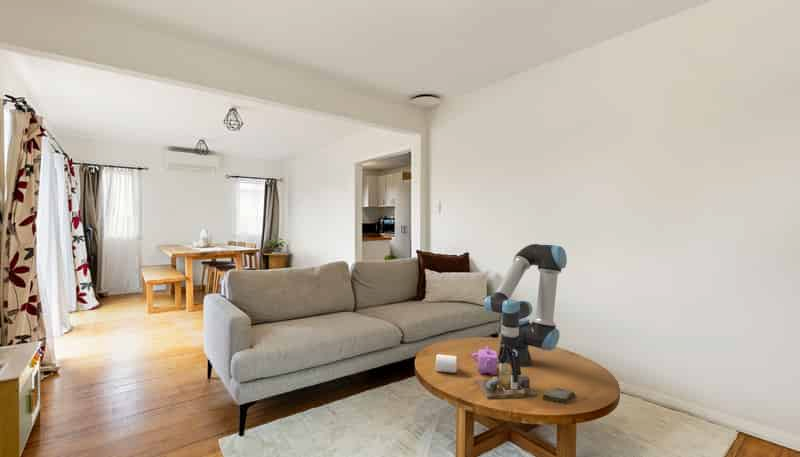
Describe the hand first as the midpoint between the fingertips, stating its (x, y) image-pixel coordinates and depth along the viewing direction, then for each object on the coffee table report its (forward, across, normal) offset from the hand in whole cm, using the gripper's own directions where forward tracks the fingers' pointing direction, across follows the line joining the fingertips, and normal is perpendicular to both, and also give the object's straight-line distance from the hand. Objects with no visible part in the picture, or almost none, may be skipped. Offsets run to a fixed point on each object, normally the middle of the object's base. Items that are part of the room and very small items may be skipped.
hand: (508, 382), depth 165 cm
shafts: (+2, +1, -1) cm, 2 cm away
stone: (+4, +10, +19) cm, 22 cm away
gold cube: (+2, 0, 0) cm, 2 cm away
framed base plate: (+3, 0, -2) cm, 3 cm away
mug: (+3, -24, -22) cm, 32 cm away
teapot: (+3, -20, -2) cm, 20 cm away
